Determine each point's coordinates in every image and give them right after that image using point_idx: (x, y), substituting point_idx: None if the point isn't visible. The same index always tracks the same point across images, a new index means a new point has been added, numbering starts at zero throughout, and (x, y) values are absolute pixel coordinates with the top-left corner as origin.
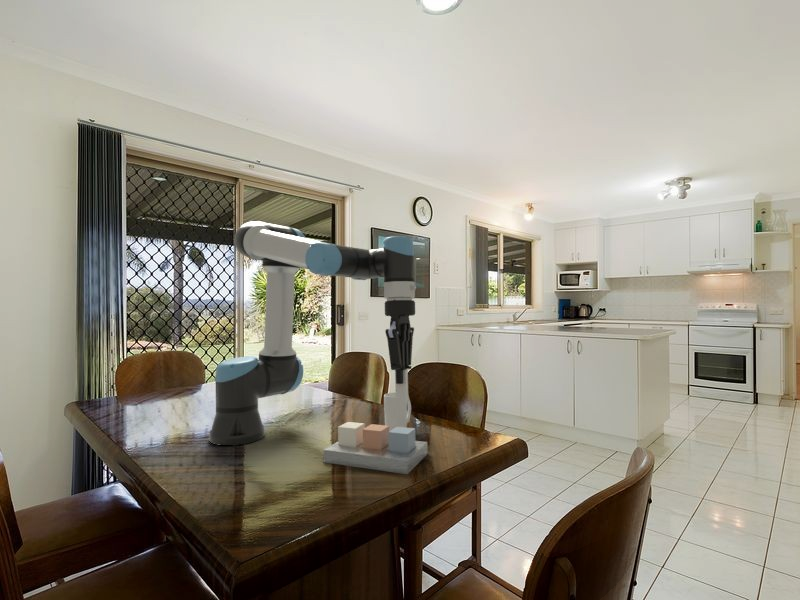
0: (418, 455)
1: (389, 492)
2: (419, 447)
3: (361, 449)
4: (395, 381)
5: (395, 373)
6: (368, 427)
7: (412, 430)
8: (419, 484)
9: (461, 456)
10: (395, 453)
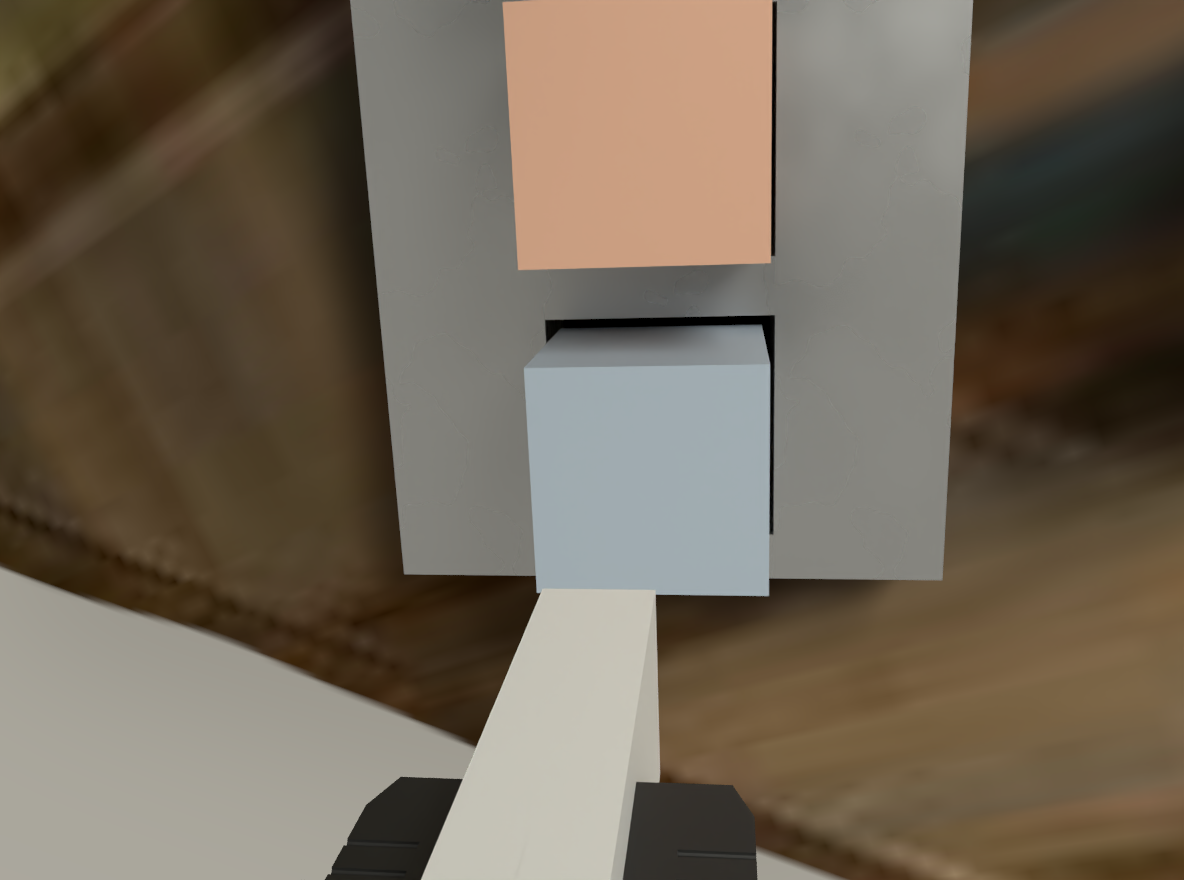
0: None
1: (129, 531)
2: None
3: (489, 45)
4: (478, 743)
5: (429, 877)
6: (608, 32)
7: (679, 594)
8: (319, 663)
9: (948, 805)
10: (521, 418)
